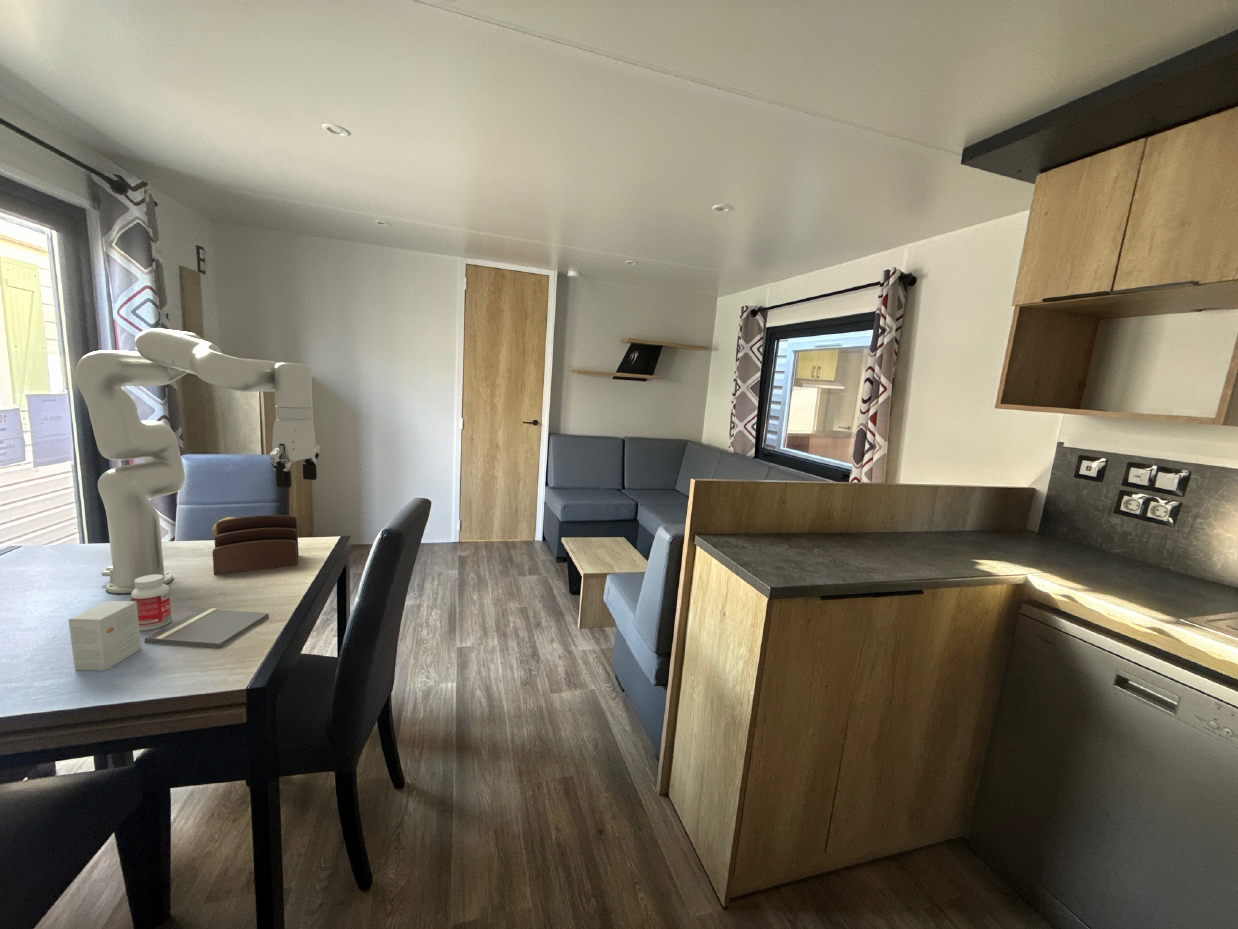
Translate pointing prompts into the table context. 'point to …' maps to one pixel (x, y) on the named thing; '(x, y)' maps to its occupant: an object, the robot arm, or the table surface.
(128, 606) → the small box
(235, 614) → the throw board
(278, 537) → the letter holder
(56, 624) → the table surface
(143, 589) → the pill bottle
